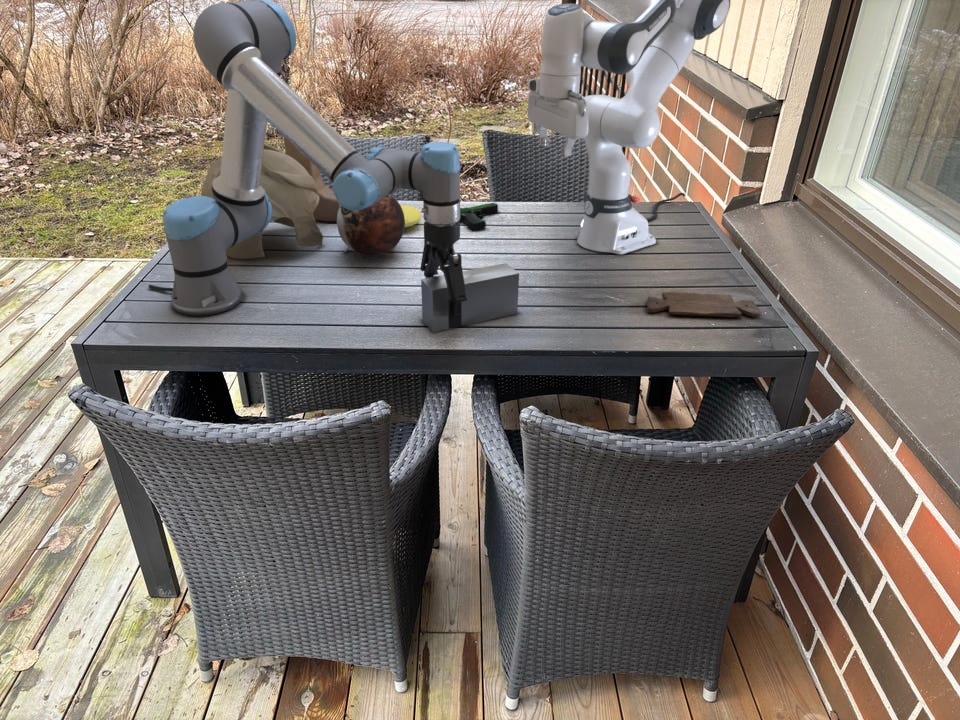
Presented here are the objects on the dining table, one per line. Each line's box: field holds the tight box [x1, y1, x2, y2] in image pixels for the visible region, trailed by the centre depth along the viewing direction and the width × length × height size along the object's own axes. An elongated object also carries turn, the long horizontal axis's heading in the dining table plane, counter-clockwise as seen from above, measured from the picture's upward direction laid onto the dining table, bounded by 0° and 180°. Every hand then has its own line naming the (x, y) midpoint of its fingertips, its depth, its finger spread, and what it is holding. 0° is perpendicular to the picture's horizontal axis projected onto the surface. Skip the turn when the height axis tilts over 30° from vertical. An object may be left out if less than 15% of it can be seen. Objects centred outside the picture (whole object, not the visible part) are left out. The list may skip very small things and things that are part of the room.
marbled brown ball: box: [336, 193, 406, 257], centre depth 189 cm, size 22×18×20 cm
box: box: [420, 262, 520, 333], centre depth 159 cm, size 21×6×10 cm, turn 117°
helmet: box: [200, 133, 324, 260], centre depth 189 cm, size 27×30×30 cm
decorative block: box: [283, 136, 340, 223], centre depth 209 cm, size 8×15×30 cm, turn 82°
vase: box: [400, 204, 423, 229], centre depth 210 cm, size 16×16×7 cm
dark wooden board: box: [646, 291, 762, 318], centre depth 167 cm, size 26×2×10 cm
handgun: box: [459, 202, 499, 231], centre depth 216 cm, size 16×3×15 cm
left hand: (443, 315), depth 158 cm, fingers open, 12 cm apart
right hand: (555, 150), depth 164 cm, fingers open, 8 cm apart
